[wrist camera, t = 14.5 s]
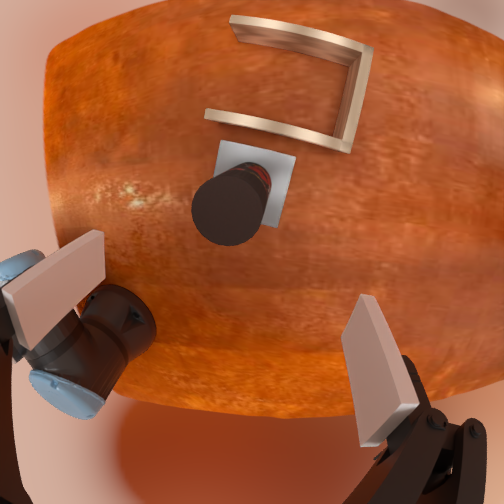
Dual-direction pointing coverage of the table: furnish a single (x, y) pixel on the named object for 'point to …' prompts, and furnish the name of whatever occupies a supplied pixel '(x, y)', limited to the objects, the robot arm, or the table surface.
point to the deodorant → (232, 204)
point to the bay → (317, 46)
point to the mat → (271, 161)
